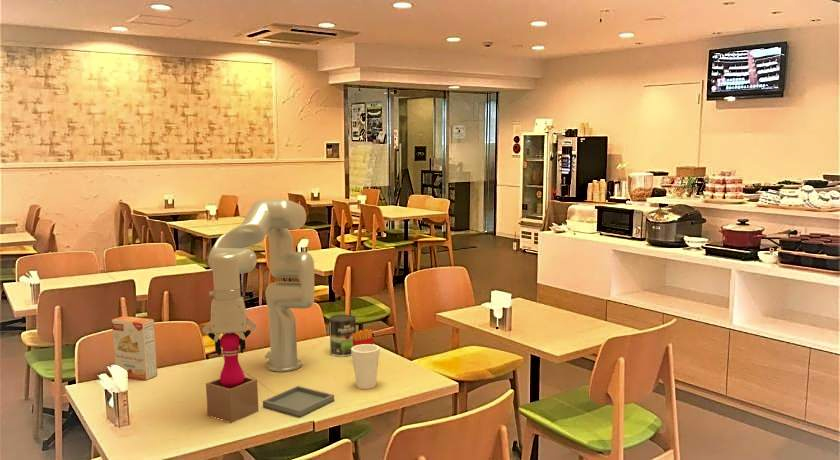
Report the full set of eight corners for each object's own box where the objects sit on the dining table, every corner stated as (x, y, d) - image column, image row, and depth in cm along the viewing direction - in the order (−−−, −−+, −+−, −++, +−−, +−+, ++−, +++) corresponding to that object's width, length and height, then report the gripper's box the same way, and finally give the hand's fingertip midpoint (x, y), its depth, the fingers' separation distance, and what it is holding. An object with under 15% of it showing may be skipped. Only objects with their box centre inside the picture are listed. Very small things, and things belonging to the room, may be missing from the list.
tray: (263, 407, 212) (262, 400, 211) (298, 391, 224) (297, 385, 224) (300, 417, 203) (299, 411, 203) (334, 400, 216) (334, 394, 216)
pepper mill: (223, 388, 210) (219, 325, 207) (247, 387, 211) (243, 324, 208) (218, 397, 203) (214, 332, 200) (243, 396, 204) (239, 331, 201)
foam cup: (375, 391, 224) (374, 353, 222) (348, 389, 225) (347, 351, 224) (383, 381, 233) (382, 344, 231) (357, 380, 235) (356, 343, 233)
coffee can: (360, 354, 263) (359, 318, 261) (335, 358, 259) (334, 322, 257) (350, 347, 272) (349, 313, 271) (326, 351, 268) (325, 316, 266)
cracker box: (114, 376, 241) (110, 319, 239) (127, 371, 247) (124, 315, 244) (145, 381, 236) (141, 322, 234) (158, 375, 242) (154, 318, 239)
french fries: (369, 357, 259) (369, 326, 258) (375, 360, 256) (374, 329, 255) (350, 362, 254) (350, 330, 252) (356, 364, 251) (355, 333, 249)
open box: (207, 415, 206) (205, 383, 204) (234, 404, 214) (233, 373, 213) (231, 423, 200) (229, 390, 199) (258, 411, 209) (257, 379, 207)
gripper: (195, 299, 197) (199, 358, 200) (256, 295, 201) (259, 354, 203) (198, 293, 204) (202, 351, 207) (257, 289, 208) (260, 346, 210)
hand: (230, 352), depth 205 cm, fingers closed on pepper mill, 6 cm apart
